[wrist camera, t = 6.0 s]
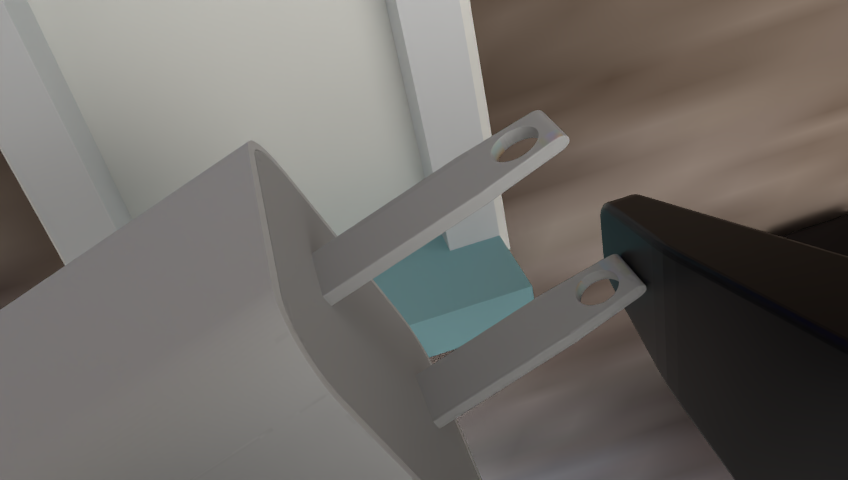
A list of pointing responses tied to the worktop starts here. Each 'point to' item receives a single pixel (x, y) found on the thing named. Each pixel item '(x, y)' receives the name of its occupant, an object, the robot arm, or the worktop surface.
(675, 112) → the worktop surface
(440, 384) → the usb wall charger
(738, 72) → the worktop surface
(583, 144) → the worktop surface
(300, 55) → the end holder
